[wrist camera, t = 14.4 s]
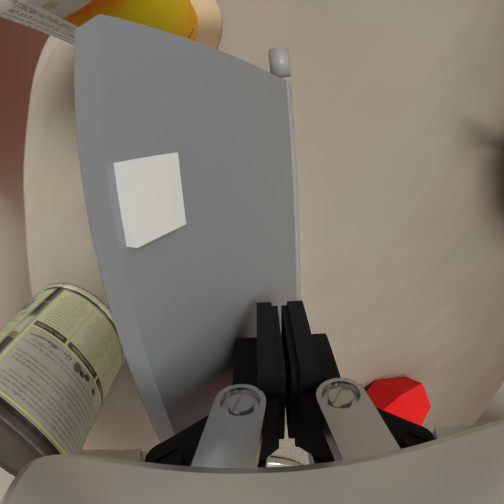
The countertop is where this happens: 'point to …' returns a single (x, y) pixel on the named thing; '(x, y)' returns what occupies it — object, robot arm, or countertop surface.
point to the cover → (184, 204)
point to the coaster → (208, 22)
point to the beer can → (106, 3)
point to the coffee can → (54, 374)
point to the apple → (400, 398)
